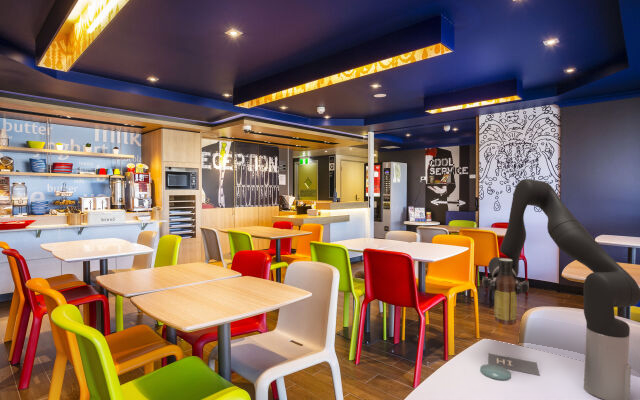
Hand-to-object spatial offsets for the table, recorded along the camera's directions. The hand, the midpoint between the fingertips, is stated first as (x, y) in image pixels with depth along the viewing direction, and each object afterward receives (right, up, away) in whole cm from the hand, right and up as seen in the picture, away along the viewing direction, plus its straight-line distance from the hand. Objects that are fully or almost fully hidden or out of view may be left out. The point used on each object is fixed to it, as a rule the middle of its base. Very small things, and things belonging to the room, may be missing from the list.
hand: (505, 289), depth 111 cm
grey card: (+4, -25, +4) cm, 25 cm away
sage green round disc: (-4, -25, -2) cm, 25 cm away
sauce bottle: (+1, -11, +3) cm, 11 cm away
